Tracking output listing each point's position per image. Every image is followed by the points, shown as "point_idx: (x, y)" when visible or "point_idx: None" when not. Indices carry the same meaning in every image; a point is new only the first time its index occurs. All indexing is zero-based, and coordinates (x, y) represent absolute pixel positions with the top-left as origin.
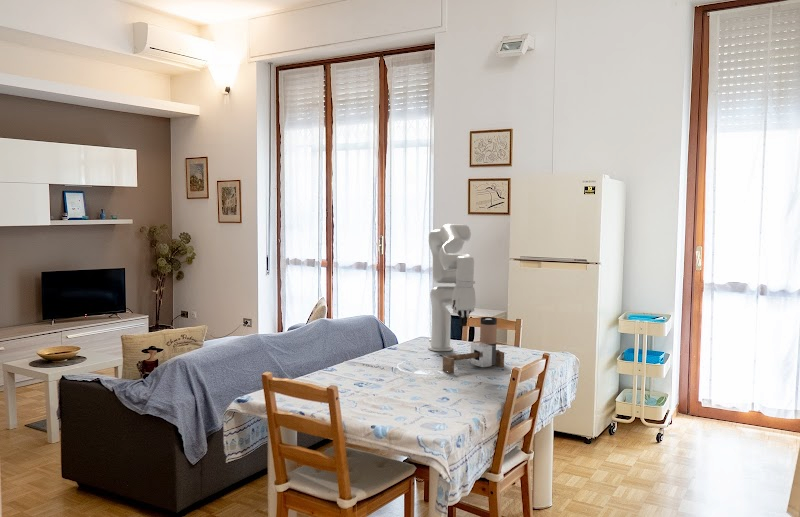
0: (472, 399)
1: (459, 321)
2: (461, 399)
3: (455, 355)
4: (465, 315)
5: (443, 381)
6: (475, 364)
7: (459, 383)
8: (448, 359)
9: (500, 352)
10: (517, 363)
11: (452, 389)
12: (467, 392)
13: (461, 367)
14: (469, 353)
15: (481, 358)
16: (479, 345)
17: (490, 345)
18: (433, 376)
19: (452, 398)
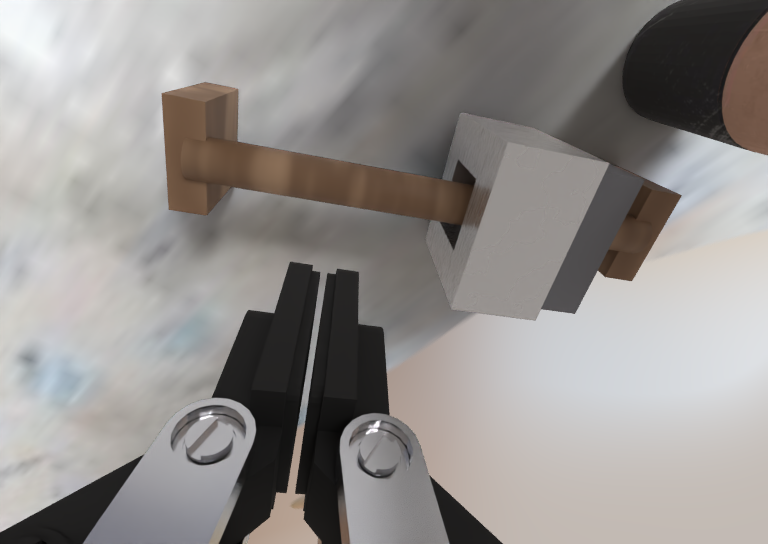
0: (81, 476)
1: (240, 328)
2: (38, 463)
3: (246, 182)
4: (314, 525)
5: (82, 269)
6: (444, 171)
7: (147, 331)
8: (171, 180)
9: (618, 266)
10: (702, 231)
11: (63, 375)
12: (108, 424)
13: (380, 96)
14: (388, 202)
15: (437, 252)
16: (481, 256)
17: (579, 271)
18: (69, 160)
19: (6, 445)
